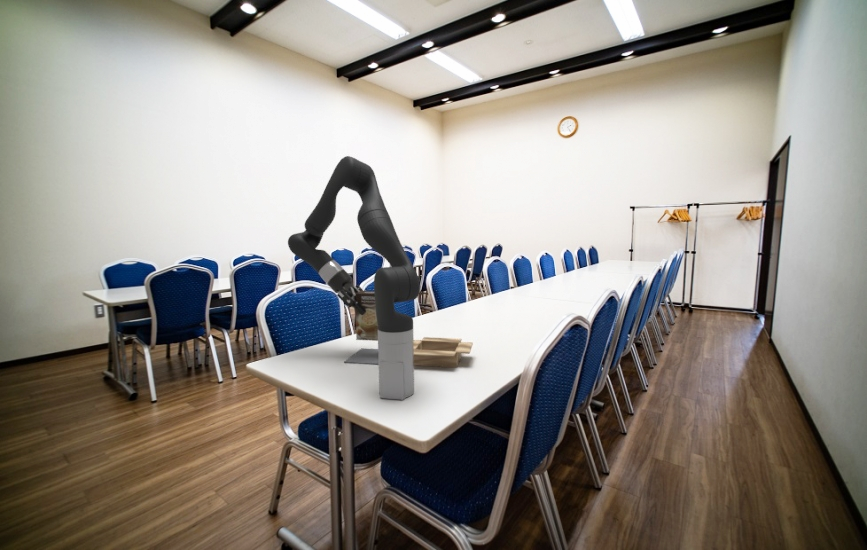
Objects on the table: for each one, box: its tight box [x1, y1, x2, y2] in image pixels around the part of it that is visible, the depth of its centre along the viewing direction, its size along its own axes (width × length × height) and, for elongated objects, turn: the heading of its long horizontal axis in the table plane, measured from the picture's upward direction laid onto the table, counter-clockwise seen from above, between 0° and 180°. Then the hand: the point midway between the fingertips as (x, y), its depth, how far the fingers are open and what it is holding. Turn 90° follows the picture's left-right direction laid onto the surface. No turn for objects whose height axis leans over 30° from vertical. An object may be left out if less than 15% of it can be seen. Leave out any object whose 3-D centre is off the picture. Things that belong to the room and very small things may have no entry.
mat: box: [343, 348, 379, 366], centre depth 127 cm, size 15×14×1 cm
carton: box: [413, 336, 474, 368], centre depth 123 cm, size 19×22×5 cm
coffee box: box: [355, 290, 378, 342], centre depth 126 cm, size 9×6×16 cm
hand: (368, 311), depth 126 cm, fingers closed on coffee box, 6 cm apart
